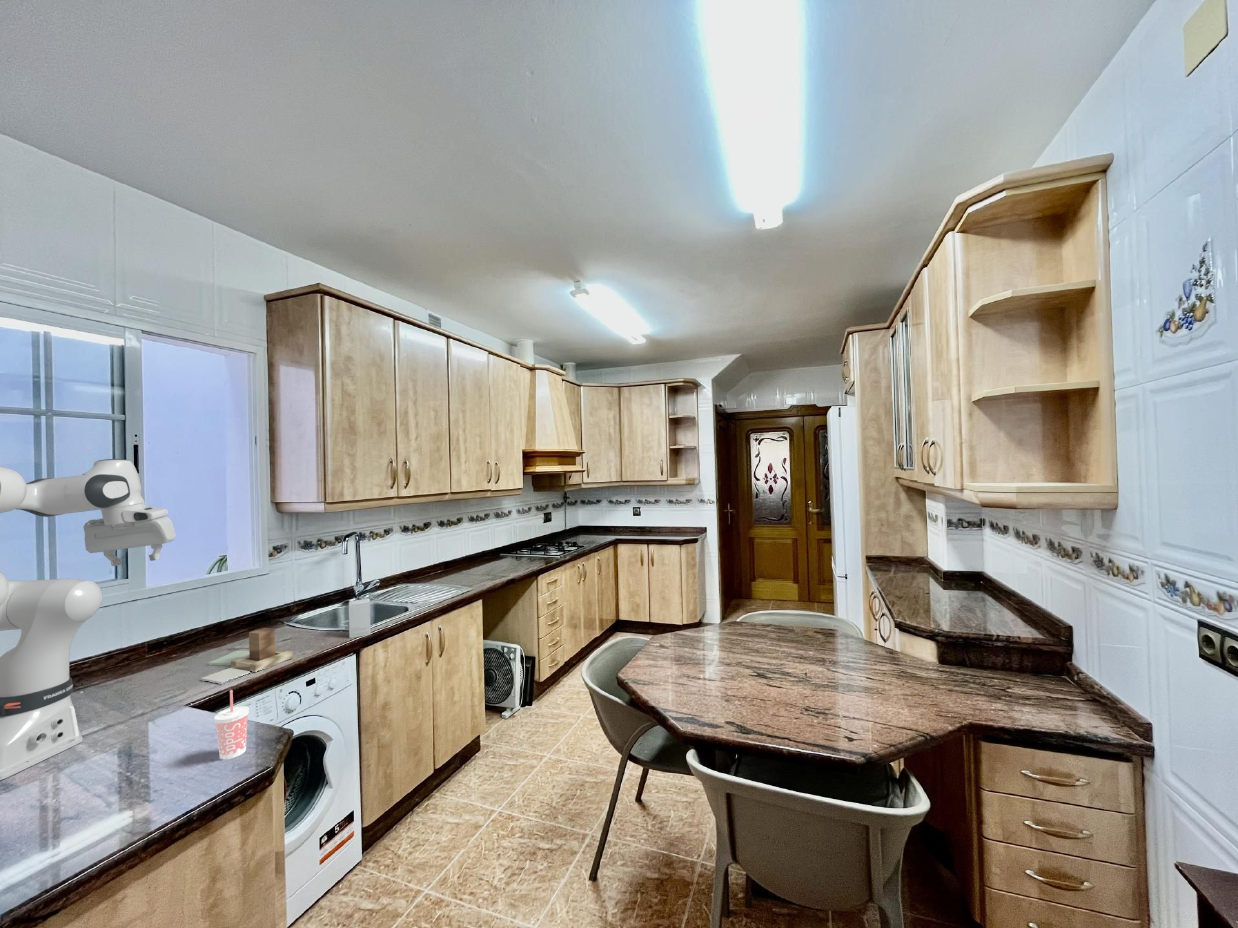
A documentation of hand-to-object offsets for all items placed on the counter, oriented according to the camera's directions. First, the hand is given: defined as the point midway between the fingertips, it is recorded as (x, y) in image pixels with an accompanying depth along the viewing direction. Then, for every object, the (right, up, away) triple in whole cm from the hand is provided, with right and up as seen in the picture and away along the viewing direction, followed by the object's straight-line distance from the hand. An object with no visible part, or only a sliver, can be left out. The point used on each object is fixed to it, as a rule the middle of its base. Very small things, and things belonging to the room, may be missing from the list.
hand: (136, 562), depth 139 cm
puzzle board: (+18, -38, +18) cm, 46 cm away
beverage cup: (+52, -36, -31) cm, 71 cm away
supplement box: (+38, -38, +50) cm, 73 cm away
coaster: (+7, -39, +28) cm, 48 cm away
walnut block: (+20, -38, +22) cm, 49 cm away
